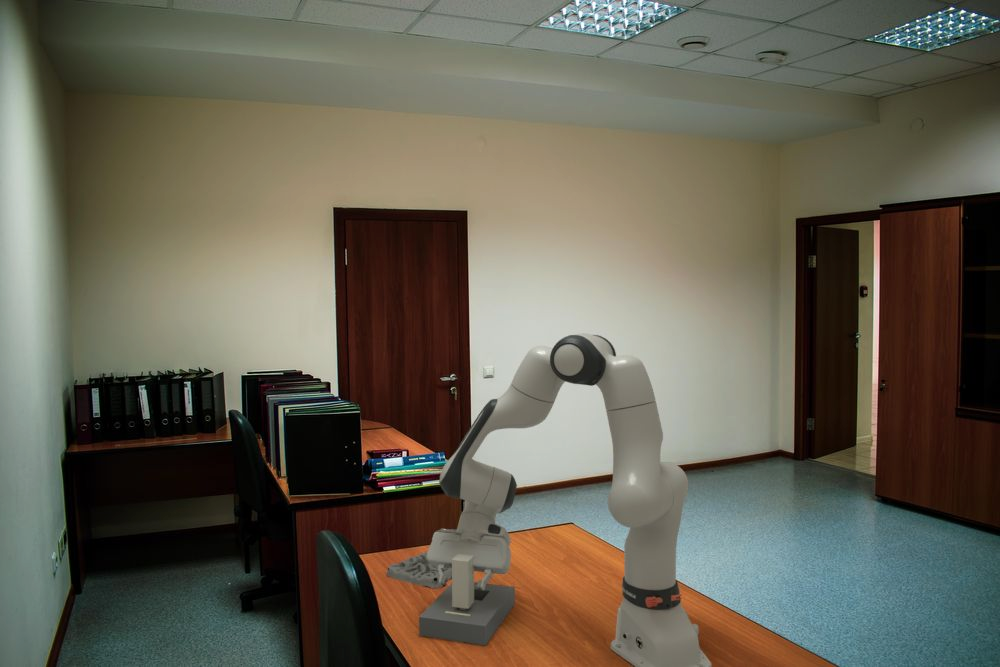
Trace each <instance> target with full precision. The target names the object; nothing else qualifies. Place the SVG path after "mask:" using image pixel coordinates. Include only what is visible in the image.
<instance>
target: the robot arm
mask: <svg viewBox="0 0 1000 667" xmlns="http://www.w3.org/2000/svg"><path fill="white" fill-rule="evenodd" d="M566 382H567V383H569V384H573V385H583V386H592V387H593V386H597V387H598V388H599V390H600V392H601V394H602V397H603V402H604V406H605V412H606V416H607V420H608V421H607V422H608V427H609V432H610V437H611V441H612V442H611V443H612V453H613V454H612V456H613V459H612V460H613V461H612V462H613V463H612V482H611V487H610V490H609V493H608V497H607V508H608V511H609V512H610V515H611V516H612V518H613V519H614V520H615V521H616V522H617V523H618V524H619V525H622V526H623V527H626V528H629V531H628V533H627V536H626V538H625V541H624V554H623V555H624V556H623V558H624V560H623V561H624V563H623V564H624V568H623V569H624V574H623V575H624V576H623V577H622V584H621V589H622V590H621V591H622V597H623V599H622V602H621V604H620V606H619V607H618V609H617V614H616V626H615V627H616V628H615V639H613V640H612V641H611V642H610V650H611V651H613V652H614V653H615V654H617V655H618V656H620V657H621V658H623V659H624V660H626V661H627V662H629V664H630V665H632V666H634V667H712V666H713V665H712V662H711V660H709V658H708V657H707V655H706V654H705V653H704V652H703V650H702V649H701V648H700V642H699V636H698V635H699V634H700V628H699V626H698V625H699V624H697V623H692V622H691V620H690V618H689V615H688V611H687V610H685V609H684V607H683V605H682V603H681V601H682V597H681V596H683V595H682V593H680V592H681V591H680V587H679V582H678V580H677V574H676V573H677V572H676V571H677V567H676V566H677V565H676V564H677V545H678V544H677V542H678V536H679V532H680V525H681V520H682V512H683V508H684V502H685V499H686V496H687V494H688V490H689V479H688V476H687V475H686V472H685V471H684V469H682V468H681V467H680V466H679V465H677V464H675V463H673V462H668V461H666V462H665V461H661V449H662V448H661V447H662V443H663V440H664V432H663V428H662V423H661V418H660V415H659V409H658V405H657V402H656V401H657V400H656V397H655V392H654V389H653V385H652V383H651V379H650V377H649V374H648V372H647V369H646V367H645V365H644V363H643V362H642V360H640V358H638V357H636V356H633V355H619V356H617V352H616V349H615V347H614V346H613V344H612V343H611V342H610V341H609V339H607V338H605V337H603V336H602V335H599V334H590V333H577V334H568V335H567V336H564V337H562V338H561V339H559V340H558V341H557V342H556V343H555V345H554V346H553V347H549V346H546V345H538V346H534V347H532V348H530V350H528V352H527V353H526V355H525V356H524V357H523V360H522V361H521V362H520V364H519V366H518V368H517V370H516V372H515V374H514V376H513V378H512V381H511V382H510V385H509V387H508V389H507V390H506V391H505V392H504V393H503V394H502V395H501V396H499V397H498V398H493V399H490V400H489V401H488V402H487V403H486V404H485V406H483V408H482V409H481V411H480V412H479V414H478V415H477V417H476V418H475V420H474V421H473V423H472V424H471V426H470V427H469V429H468V430H467V432H466V434H465V435H464V437H463V438H462V441H461V442H460V443H459V445H458V446H457V448H456V449H455V451H454V452H453V454H452V455H451V456H450V458H449V459H448V460H447V461H446V462H445V464H444V466H443V467H442V469H441V471H440V475H439V481H438V482H439V485H440V488H441V490H442V491H443V492H444V494H445V495H446V496H447V497H451V498H455V499H458V500H464V508H463V511H462V512H461V514H460V517H459V521H458V524H457V528H456V529H448V528H444V527H443V528H440V529H438V530H436V531H435V532H434V533H433V535H432V538H431V543H430V545H429V548H428V550H427V551H426V552H427V555H426V558H427V560H428V562H429V564H430V565H431V566H435V567H438V570H439V574H440V578H439V584H440V585H443V587H446V586H447V585H448V582H449V581H448V578H447V577H446V576H444V573H443V571H444V572H446V569H447V568H452V559H453V558H454V557H455V556H456V555H457V554H463V555H473V556H474V559H473V563H472V566H473V567H474V572H480V573H484V574H485V575H484V576H483V577H482V578H481V579H478V580H477V582H478V584H477V589H478V590H485V586H486V584H489V582H490V581H491V579H492V578H493V576H494V575H493V574H498V575H506V574H507V573H508V572H509V571H510V567H511V562H512V560H511V559H512V551H511V549H510V546H511V542H512V541H511V537H510V533H508V531H507V529H506V528H505V527H503V526H501V525H499V524H496V516H497V515H498V514H502V513H504V512H506V511H507V510H509V509H511V508H512V506H513V504H514V501H515V495H516V491H517V486H518V484H517V481H516V479H515V476H514V475H513V474H512V473H510V472H508V471H506V470H503V469H501V468H498V467H495V466H492V465H489V464H486V463H482V462H480V461H478V460H475V459H473V458H474V456H475V454H476V453H477V452H478V450H479V449H480V447H481V445H482V444H483V443H484V441H485V439H486V438H487V436H488V435H489V434H490V433H493V432H494V431H497V430H504V429H505V430H506V429H527V428H528V429H529V428H533V427H535V426H538V425H540V424H541V423H543V422H544V421H545V420H546V419H547V417H548V416H549V414H550V412H551V410H552V408H553V407H554V404H555V402H556V399H557V396H558V393H559V392H560V390H561V388H562V386H563V385H564V384H565V383H566Z"/></svg>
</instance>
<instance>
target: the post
mask: <svg viewBox="0 0 1000 667" xmlns="http://www.w3.org/2000/svg"><path fill="white" fill-rule="evenodd" d="M473 559H474V556H473V555H463V554H457V555H456V556H455V557H454V558H453V559H452V577H451V583H452V607H459V608H460V610H467V609H469V608H470V606H471V605H472V604H473V603H474V582H475V571H474V567H473V566H472V563H473Z"/></svg>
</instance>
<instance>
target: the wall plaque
mask: <svg viewBox="0 0 1000 667" xmlns="http://www.w3.org/2000/svg"><path fill="white" fill-rule="evenodd" d="M427 552H428V551H424V552H421V553H420V554H417V555H415V556H410V557H408V558H406V559H404V560H402V561H400V562H398V563H392V564H390V565H389V566H388V567H387V570H386V574H385V575H386V576H387V577H388V578H391V577H392V579H394V580H397V579H398V581H400V582H404V583H405V582H406V583H410V584H412V583H413V584H412V585H416V584H418V585H417V586H420V585H421V587H428V588H429V587H430V588H429V589H440V588H439V587H441V588H443V587H444V586H443V585H440V584H439V578H440V574H439V570H438V567H435V566H431V565H430V564H429V562H428V560H427V558H426V555H427ZM443 573H444V576H446V577H447V578H448V580H449V581H450V580H452V568H447V569H446V572H444V571H443ZM435 579H436V580H435Z"/></svg>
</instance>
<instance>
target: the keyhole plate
mask: <svg viewBox="0 0 1000 667" xmlns="http://www.w3.org/2000/svg"><path fill="white" fill-rule="evenodd" d="M477 584H478V581H477V582H476V581H474V603H473V604H472V605H471V606H470V608H469V609H467V610H460V608H459V607H452V582H451V583H450V584H449V585H448V586H447V587H446V588H445V589H444V590H443V591H442V592H441V593H440V595H438V596H437V598H436V599H434V601H432V603H431V604H430V605H429V606H428V607H427V608H426V609H425V610H424V611H423V612H422V613H421V614H420V615H419V616H418V635H420V636H419V637H424V636H426V637H425V638H431V637H433V639H437V638H439V640H444V639H447V640H446V641H451V640H453V641H452V642H457V641H458V642H457V643H464V642H466V644H472V645H479V646H484V647H485V646H487V645H488V643H489V641H490V640H491V639H492V637H493V636H494V634H496V632H497V631H498V629H499V627H500V626H501V624H502V623H503V622H504V621H505V618H506V617H507V616H508V615H509V614H510V612H511V610H512V609H513V608H514V607H515V605H514V604H516V599H515V598H516V588H515V587H516V586H510V585H502V584H493V583H487V584H486V586H485V590H478V589H477Z"/></svg>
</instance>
